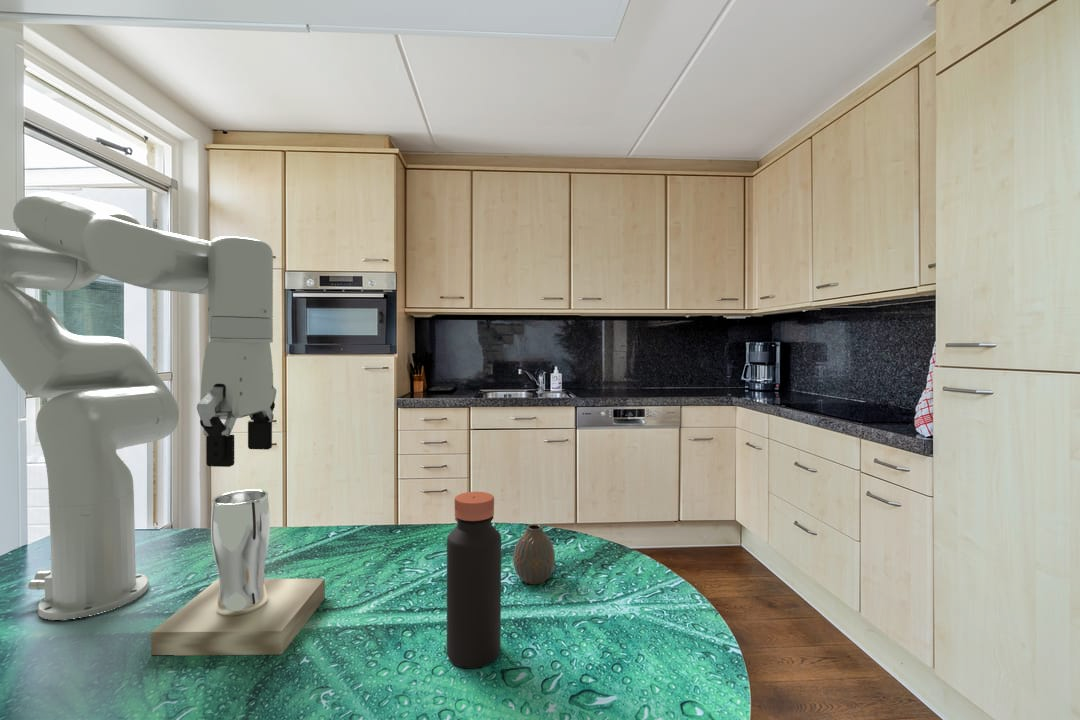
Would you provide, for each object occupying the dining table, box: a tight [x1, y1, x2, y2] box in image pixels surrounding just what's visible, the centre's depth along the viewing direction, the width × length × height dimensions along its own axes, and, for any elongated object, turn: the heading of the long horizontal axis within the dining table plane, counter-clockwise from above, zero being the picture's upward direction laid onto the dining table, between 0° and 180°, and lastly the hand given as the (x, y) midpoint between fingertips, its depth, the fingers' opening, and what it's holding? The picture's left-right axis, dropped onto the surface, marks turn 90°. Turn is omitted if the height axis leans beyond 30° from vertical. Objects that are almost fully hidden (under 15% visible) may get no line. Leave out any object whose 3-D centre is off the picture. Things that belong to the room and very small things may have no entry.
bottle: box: [446, 491, 502, 669], centre depth 65 cm, size 7×7×20 cm
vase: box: [512, 523, 556, 585], centre depth 85 cm, size 7×7×9 cm
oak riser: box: [150, 578, 326, 656], centre depth 71 cm, size 16×14×3 cm
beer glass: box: [210, 489, 271, 616], centre depth 70 cm, size 7×7×15 cm
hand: (241, 456), depth 70 cm, fingers open, 9 cm apart
